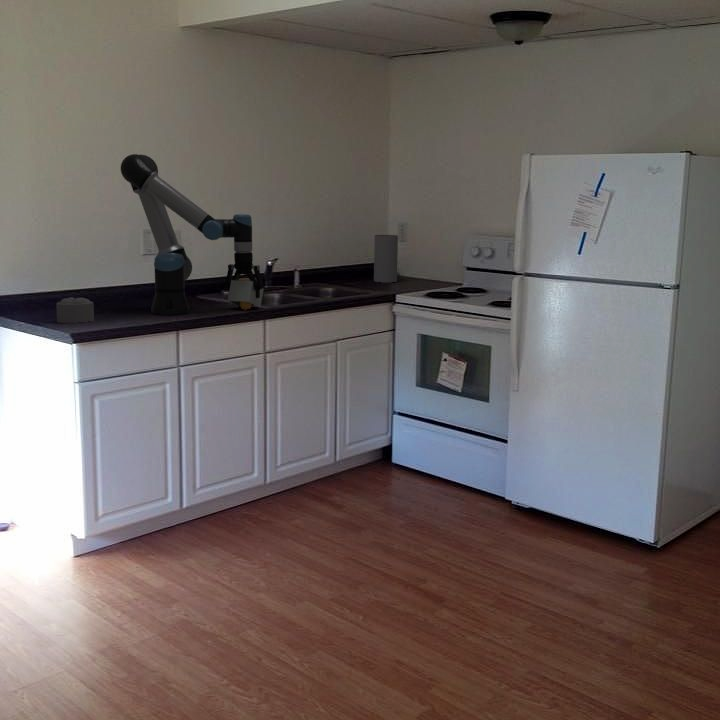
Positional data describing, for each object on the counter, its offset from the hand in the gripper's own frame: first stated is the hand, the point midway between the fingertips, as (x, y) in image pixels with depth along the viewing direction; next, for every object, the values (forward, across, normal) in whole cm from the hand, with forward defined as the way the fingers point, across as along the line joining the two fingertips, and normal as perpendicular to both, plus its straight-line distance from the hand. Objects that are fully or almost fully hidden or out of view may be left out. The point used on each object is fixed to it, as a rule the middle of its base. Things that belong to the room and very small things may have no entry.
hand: (244, 305), depth 378 cm
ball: (-1, -2, +2) cm, 3 cm away
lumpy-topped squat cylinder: (+1, +40, +58) cm, 71 cm away
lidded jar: (+2, +20, -41) cm, 46 cm away
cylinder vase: (+2, -14, -128) cm, 129 cm away
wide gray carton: (0, 0, 0) cm, 1 cm away
